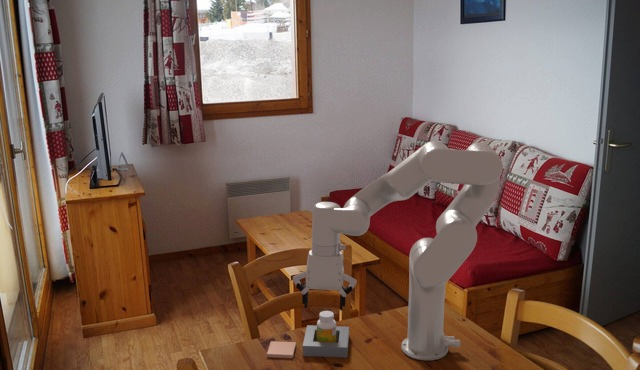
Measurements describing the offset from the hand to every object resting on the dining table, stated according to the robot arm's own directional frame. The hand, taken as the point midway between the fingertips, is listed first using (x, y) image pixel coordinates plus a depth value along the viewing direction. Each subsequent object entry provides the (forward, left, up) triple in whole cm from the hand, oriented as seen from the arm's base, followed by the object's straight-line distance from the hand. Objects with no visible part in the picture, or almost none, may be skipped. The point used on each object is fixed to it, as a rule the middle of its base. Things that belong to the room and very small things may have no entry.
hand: (323, 307), depth 177 cm
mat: (+11, +4, -12) cm, 17 cm away
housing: (-1, 0, -12) cm, 12 cm away
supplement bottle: (-1, 0, -12) cm, 12 cm away
